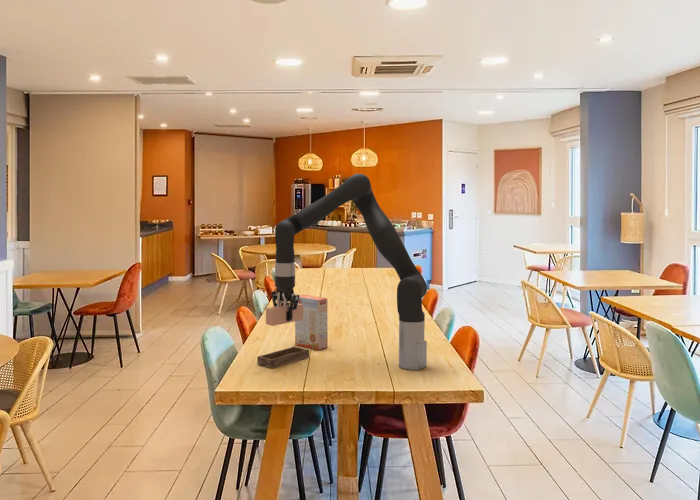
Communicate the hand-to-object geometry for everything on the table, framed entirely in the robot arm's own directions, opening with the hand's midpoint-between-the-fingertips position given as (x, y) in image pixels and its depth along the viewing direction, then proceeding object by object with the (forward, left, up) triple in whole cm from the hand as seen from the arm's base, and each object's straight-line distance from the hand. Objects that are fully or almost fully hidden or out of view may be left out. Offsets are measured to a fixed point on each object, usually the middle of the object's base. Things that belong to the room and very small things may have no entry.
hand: (284, 319), depth 217 cm
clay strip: (0, 0, -1) cm, 1 cm away
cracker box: (+8, -22, -16) cm, 28 cm away
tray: (+1, 0, -16) cm, 16 cm away
